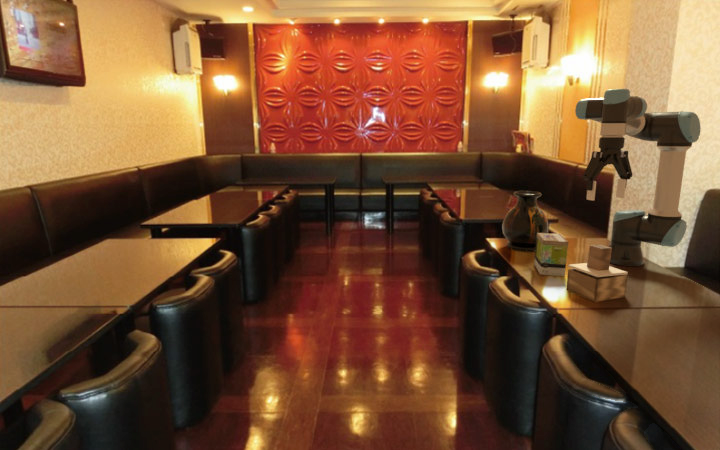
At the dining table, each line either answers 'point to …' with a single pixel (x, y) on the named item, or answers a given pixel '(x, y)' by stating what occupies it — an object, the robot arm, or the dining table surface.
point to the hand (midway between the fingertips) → (605, 198)
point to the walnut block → (599, 257)
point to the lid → (596, 273)
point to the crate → (596, 285)
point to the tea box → (551, 254)
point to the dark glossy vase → (524, 222)
